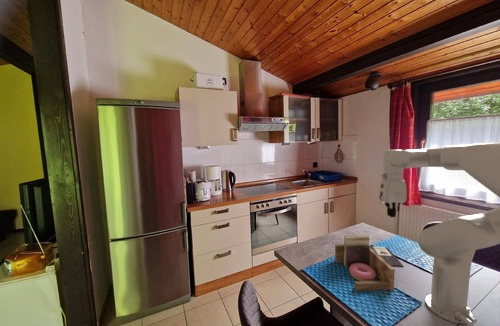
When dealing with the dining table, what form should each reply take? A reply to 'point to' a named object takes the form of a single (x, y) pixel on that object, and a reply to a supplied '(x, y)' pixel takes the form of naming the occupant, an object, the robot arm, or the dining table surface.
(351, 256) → the dark grey square tile
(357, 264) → the doughnut
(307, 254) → the dining table surface
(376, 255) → the wooden frame
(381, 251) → the chocolate bar
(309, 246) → the dining table surface
